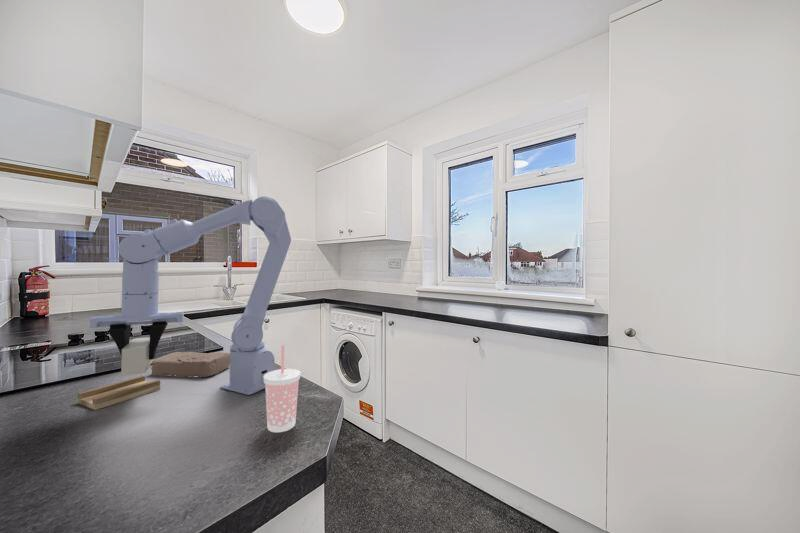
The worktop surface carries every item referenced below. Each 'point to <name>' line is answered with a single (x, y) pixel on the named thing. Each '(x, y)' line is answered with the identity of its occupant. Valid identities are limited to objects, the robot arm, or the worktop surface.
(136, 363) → the white rectangular block
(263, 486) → the worktop surface
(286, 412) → the beverage cup
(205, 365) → the brick
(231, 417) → the worktop surface
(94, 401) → the wooden base plate
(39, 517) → the worktop surface
